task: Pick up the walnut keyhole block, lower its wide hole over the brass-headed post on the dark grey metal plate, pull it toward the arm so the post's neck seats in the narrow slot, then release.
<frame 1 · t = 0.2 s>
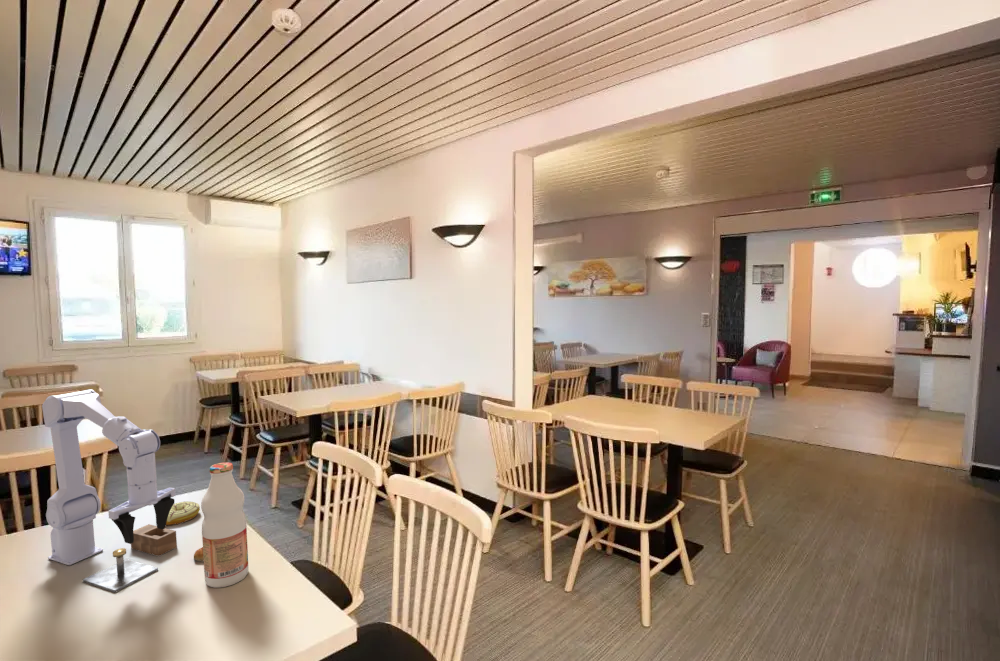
hand: (145, 535, 123), 10 cm above the table, fingers open, 7 cm apart
fruit juice: (227, 578, 122), on the table
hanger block: (154, 547, 136), on the table
pastry: (217, 555, 133), on the table
decorated donut: (179, 519, 154), on the table
hook plate: (121, 575, 123), on the table
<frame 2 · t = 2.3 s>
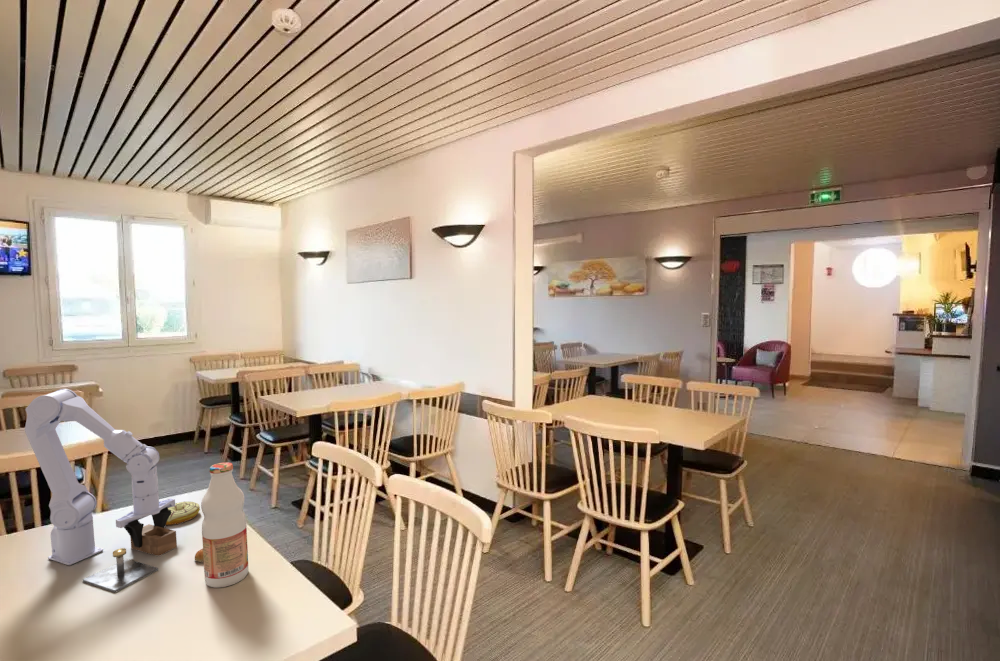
hand: (148, 541, 137), 1 cm above the table, fingers closed on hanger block, 5 cm apart
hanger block: (154, 547, 136), on the table, touching gripper
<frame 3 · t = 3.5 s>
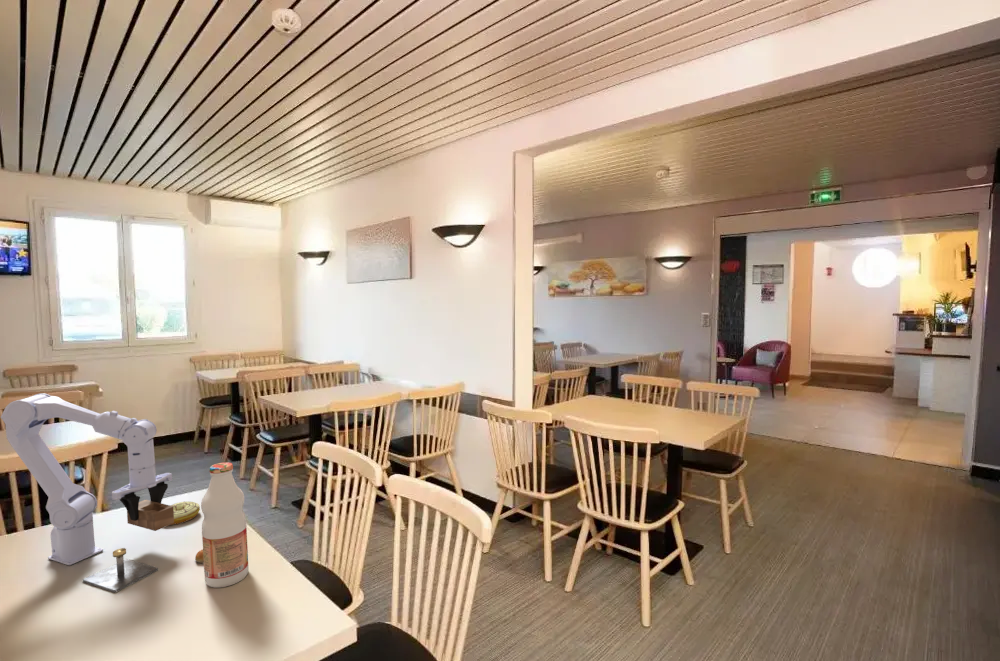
hand: (145, 515, 135), 9 cm above the table, fingers closed on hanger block, 5 cm apart
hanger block: (150, 523, 135), point 7 cm above the table, touching gripper
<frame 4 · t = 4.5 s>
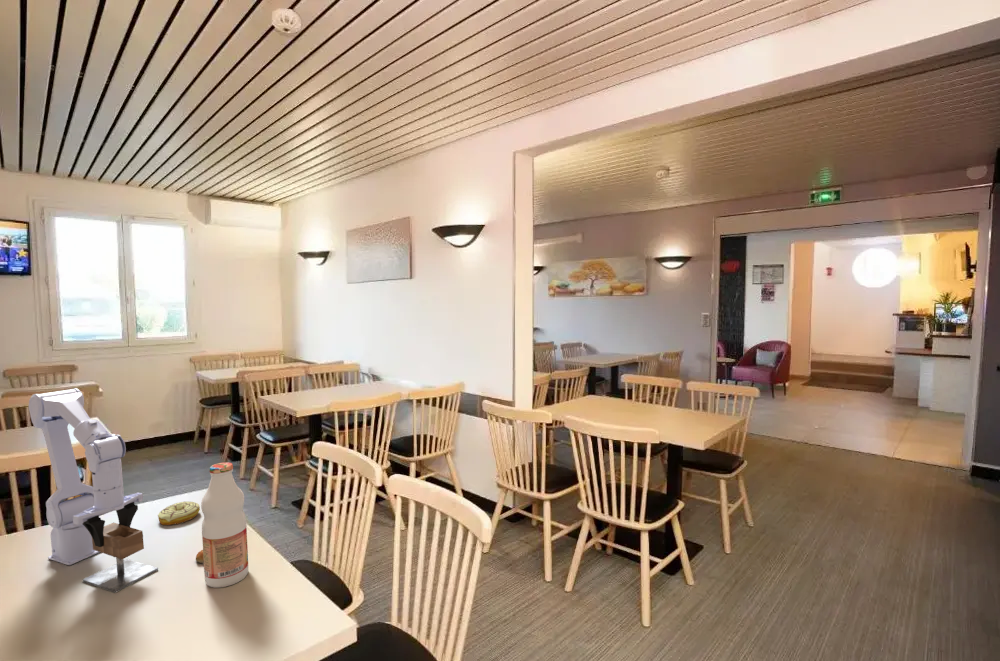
hand: (112, 540, 123), 9 cm above the table, fingers closed on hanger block, 5 cm apart
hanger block: (118, 549, 122), point 7 cm above the table, touching gripper
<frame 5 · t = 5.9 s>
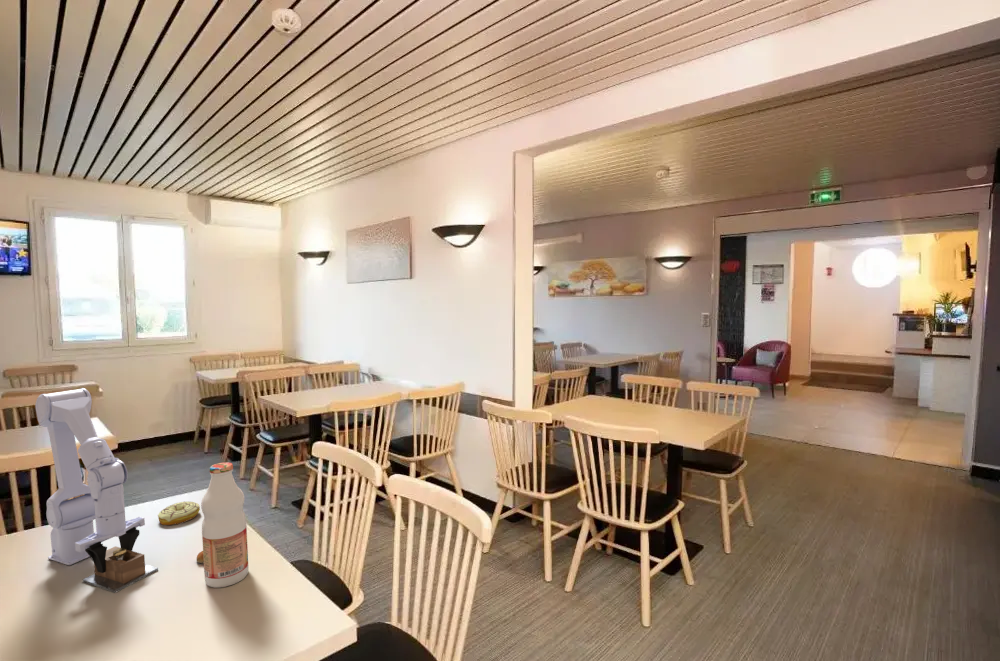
hand: (114, 565, 123), 2 cm above the table, fingers closed on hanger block, 5 cm apart
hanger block: (120, 573, 123), point 1 cm above the table, touching gripper, hook plate
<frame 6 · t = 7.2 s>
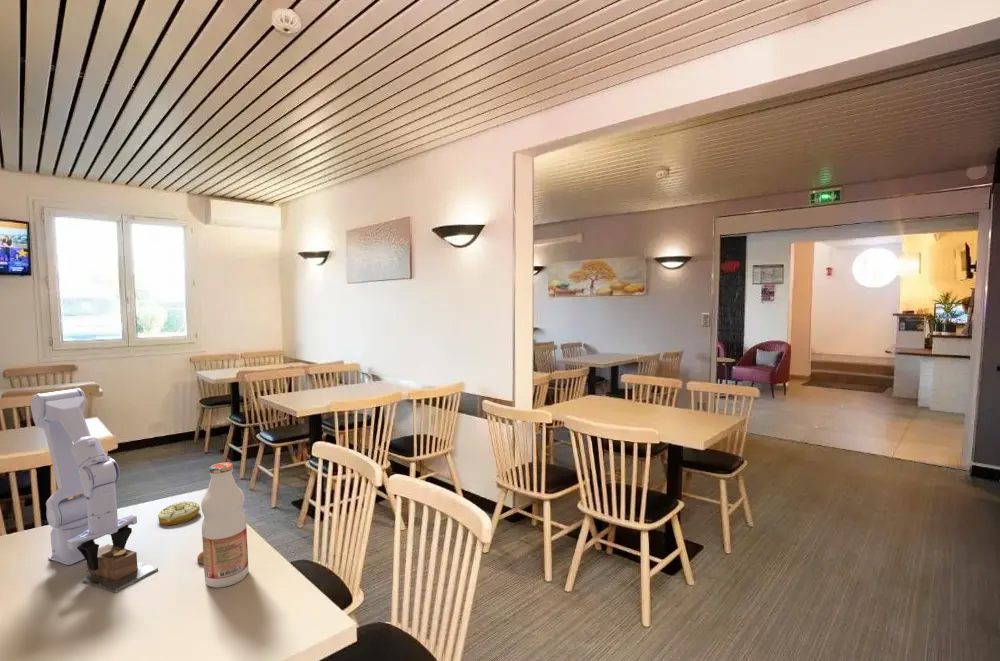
hand: (106, 563, 124), 2 cm above the table, fingers closed on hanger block, 5 cm apart
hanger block: (112, 570, 124), point 1 cm above the table, touching gripper
when the fingers open (2 cm above the table, at t = 7.2 s): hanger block stays where it is, resting on hook plate.
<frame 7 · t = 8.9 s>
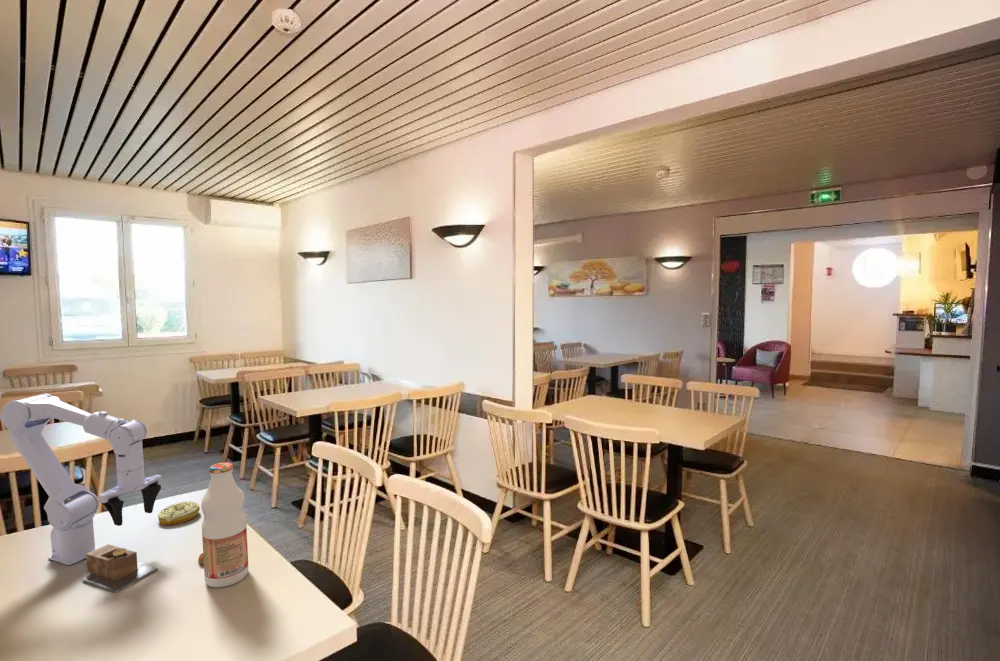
hand: (133, 518, 132), 10 cm above the table, fingers open, 7 cm apart
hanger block: (112, 570, 124), point 1 cm above the table, touching hook plate
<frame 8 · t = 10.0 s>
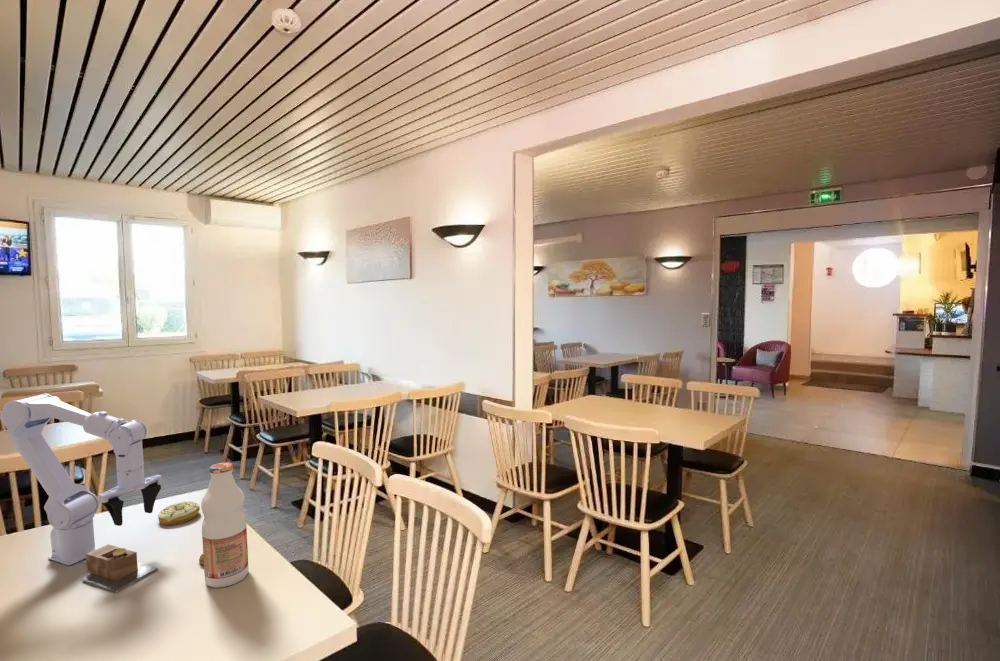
hand: (133, 518, 132), 10 cm above the table, fingers open, 7 cm apart
at the end: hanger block 0.3 cm from the target spot on the hook plate, point 0.6 cm above the hook plate's base; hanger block tilted 0°; the gripper is holding nothing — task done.
